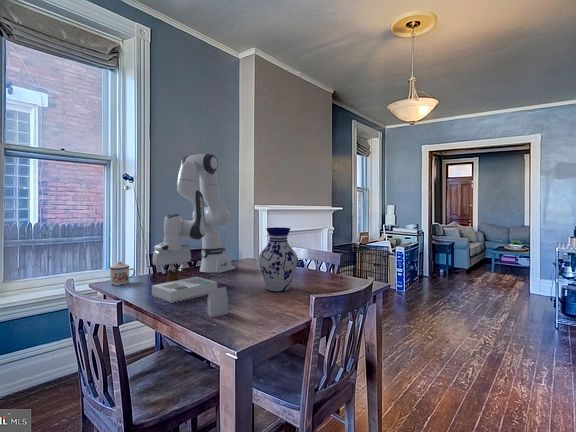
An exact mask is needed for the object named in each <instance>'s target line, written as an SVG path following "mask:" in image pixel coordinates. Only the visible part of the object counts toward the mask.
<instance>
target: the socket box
mask: <svg viewBox="0 0 576 432" xmlns="http://www.w3.org/2000/svg"><path fill="white" fill-rule="evenodd" d="M216 288H218V281H216V280H213V279H208V278H205V277H200V276H193V277H188V278H183V279H179V280H177V281H172V282H168V281H167V282H163V283H158V284H153V285H151V297H152V296H154V297H153V298H155V297H156V298H155V299H157V298H159V299H158V300H160V299H162V300H161V301H163V300H164V301H163V302H165V301H167V302H166V303H168V302H169V303H168V304H170V303H172V304H175V303H174V302H176V303H179V302H178V301H180V302H184V301H186V300H187V299H188V300H190V299H191V298H192V299H194V298H195V297H196V298H199V297H203V296H207V295H208V294H209V289H216ZM183 300H184V301H183Z"/></svg>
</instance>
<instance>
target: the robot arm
mask: <svg viewBox="0 0 576 432" xmlns="http://www.w3.org/2000/svg"><path fill="white" fill-rule="evenodd" d="M217 168H218V159H217V157H216V156H215V155H214V154H211V153H196V154H192V155H186V156H183V157H182V158H181V160H180V167H179V171H178V175H177V183H176V190H177V192H178V194H179V195H180V196H181V197H182V198H184V199H187V200H189V201H191V203H192V205H193V211H192V220H188V219H187V220H186V219H183V218H182V216H181V214H178V213H172V214H167V215H166V216H164V221H163V234H164V237H163V242H161V243H157V244H156V245H154V247H153V250H154V251H153V253H152V265H153V266H157V267H159V268H160V269H161V274H162V275H165V274H167V270H166V269H165V266H166V265H170V264H173V263H174V265H176V264H180V267H178V270H179V272H183V271H184V267H185V264H186V263H187V262H188V263H189V262H191V260H192V254H191V246H190V245H189V244H186V243H185V244H182V242H183V241H182V239H192V240H198V241H199V240H201V248H200V249H201V252H200V253H201V262H200V268H199V272H201V273H217V274H218V273H224V272H228V271H231V270H235V269H236V266H234V265H232V260H231V258H230V257H229V256H227V255H226V254H225V253H224V252H226V251H227V248H226V247H222V246H221V238H222V237H221V234H220V232H218V231H217V230H216V228H215V226H224V225H227V224H228V223H229V222H230V220H231V216H232V215H231V212H230V210H229V209H228V208H226V207H225V205H224V204H223V202H222V199H221V196H220V188H219V179H218V173H217ZM204 202H205V204H206V205H207V206H204V205H205V204H204ZM175 263H176V264H175Z"/></svg>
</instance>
